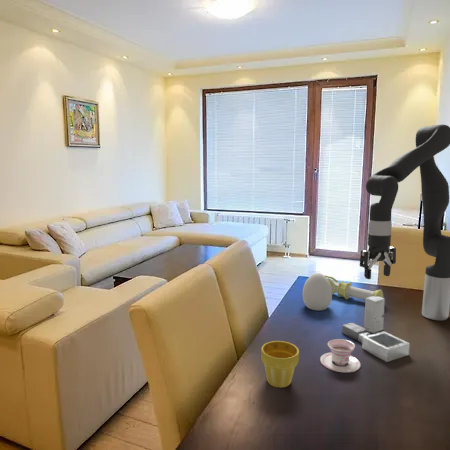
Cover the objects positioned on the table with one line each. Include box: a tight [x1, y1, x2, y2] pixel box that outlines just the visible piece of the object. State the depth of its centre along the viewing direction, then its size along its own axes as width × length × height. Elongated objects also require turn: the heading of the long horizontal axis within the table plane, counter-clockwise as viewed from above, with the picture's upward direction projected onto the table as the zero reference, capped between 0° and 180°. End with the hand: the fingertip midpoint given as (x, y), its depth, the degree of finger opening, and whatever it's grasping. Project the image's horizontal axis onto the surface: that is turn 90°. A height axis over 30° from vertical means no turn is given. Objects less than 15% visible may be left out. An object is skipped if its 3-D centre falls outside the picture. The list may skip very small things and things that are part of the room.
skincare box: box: [363, 296, 386, 334], centre depth 142 cm, size 6×4×12 cm
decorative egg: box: [302, 272, 333, 311], centre depth 164 cm, size 12×12×15 cm
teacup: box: [319, 338, 361, 373], centre depth 119 cm, size 12×12×6 cm
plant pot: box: [260, 340, 300, 389], centre depth 108 cm, size 10×10×10 cm
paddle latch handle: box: [341, 322, 411, 363], centre depth 131 cm, size 10×22×4 cm, turn 27°
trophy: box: [323, 274, 384, 301], centre depth 175 cm, size 8×8×30 cm
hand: (377, 277), depth 138 cm, fingers open, 8 cm apart
